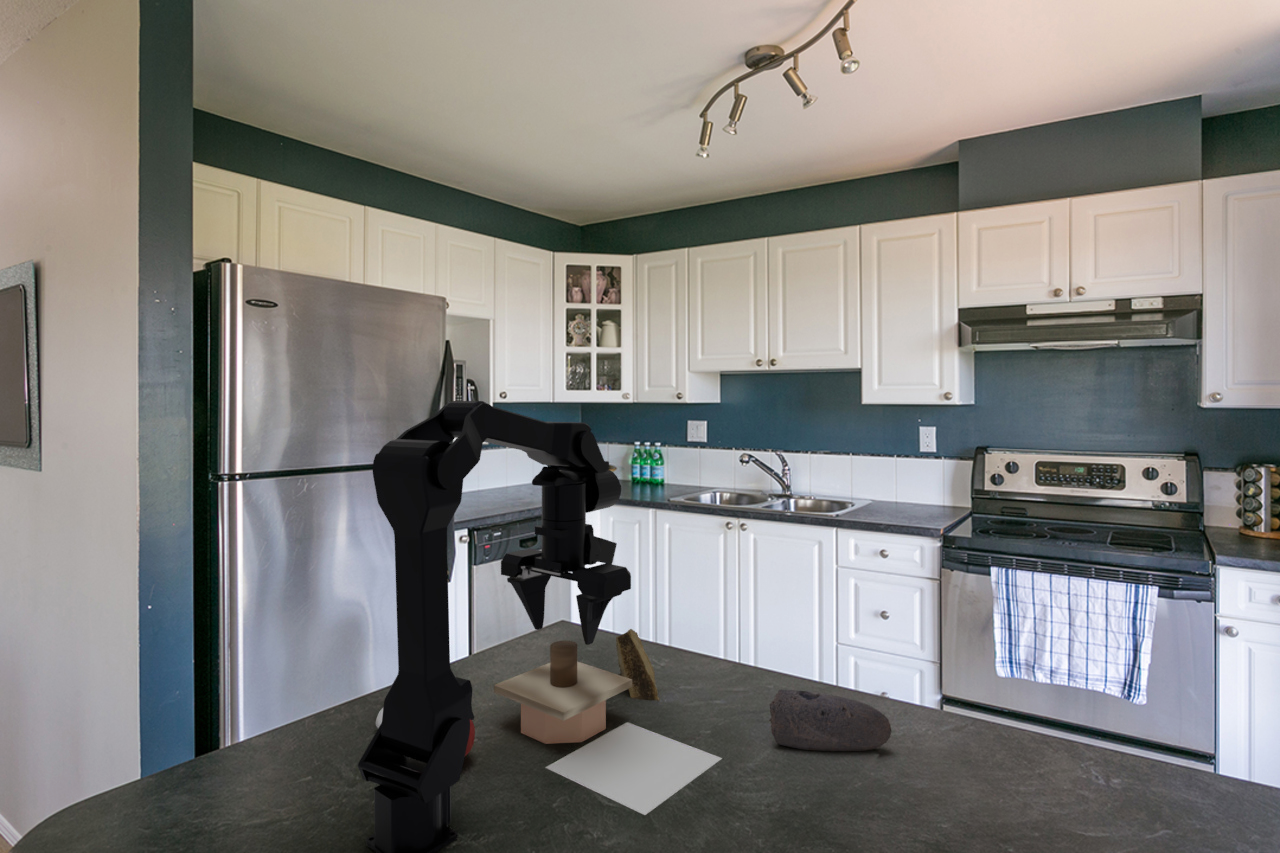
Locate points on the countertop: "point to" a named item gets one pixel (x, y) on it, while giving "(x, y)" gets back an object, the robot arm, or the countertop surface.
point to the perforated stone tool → (826, 722)
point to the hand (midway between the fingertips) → (563, 636)
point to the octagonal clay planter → (563, 725)
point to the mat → (634, 766)
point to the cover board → (563, 696)
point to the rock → (636, 666)
